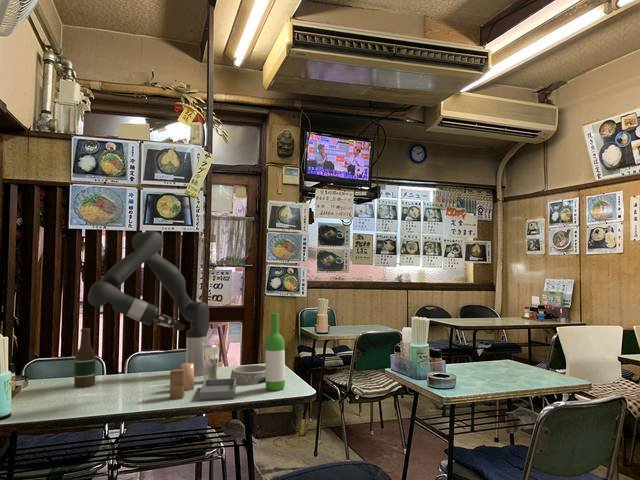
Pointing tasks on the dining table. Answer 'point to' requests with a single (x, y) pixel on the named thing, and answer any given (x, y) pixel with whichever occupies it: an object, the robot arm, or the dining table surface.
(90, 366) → the beer bottle
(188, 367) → the terracotta jar
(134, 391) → the dining table surface
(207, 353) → the beer glass
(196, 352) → the robot arm
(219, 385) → the tote
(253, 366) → the dog bowl
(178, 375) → the walnut block
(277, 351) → the wine bottle
